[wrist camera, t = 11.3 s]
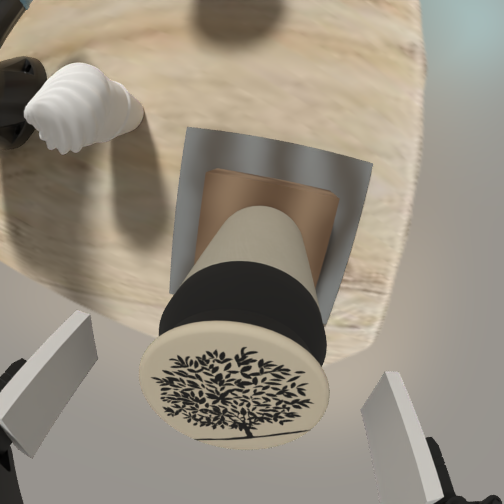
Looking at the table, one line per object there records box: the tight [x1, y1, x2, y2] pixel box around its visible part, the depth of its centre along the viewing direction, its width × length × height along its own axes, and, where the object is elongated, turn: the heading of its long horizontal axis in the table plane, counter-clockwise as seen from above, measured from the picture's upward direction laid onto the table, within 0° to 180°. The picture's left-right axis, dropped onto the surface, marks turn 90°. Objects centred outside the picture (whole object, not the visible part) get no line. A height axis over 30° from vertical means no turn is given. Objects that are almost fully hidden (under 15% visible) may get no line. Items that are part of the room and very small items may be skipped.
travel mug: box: [139, 206, 330, 450], centre depth 18 cm, size 8×8×18 cm
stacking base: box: [169, 127, 373, 324], centre depth 29 cm, size 20×20×6 cm
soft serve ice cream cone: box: [24, 62, 144, 155], centre depth 21 cm, size 8×8×16 cm
